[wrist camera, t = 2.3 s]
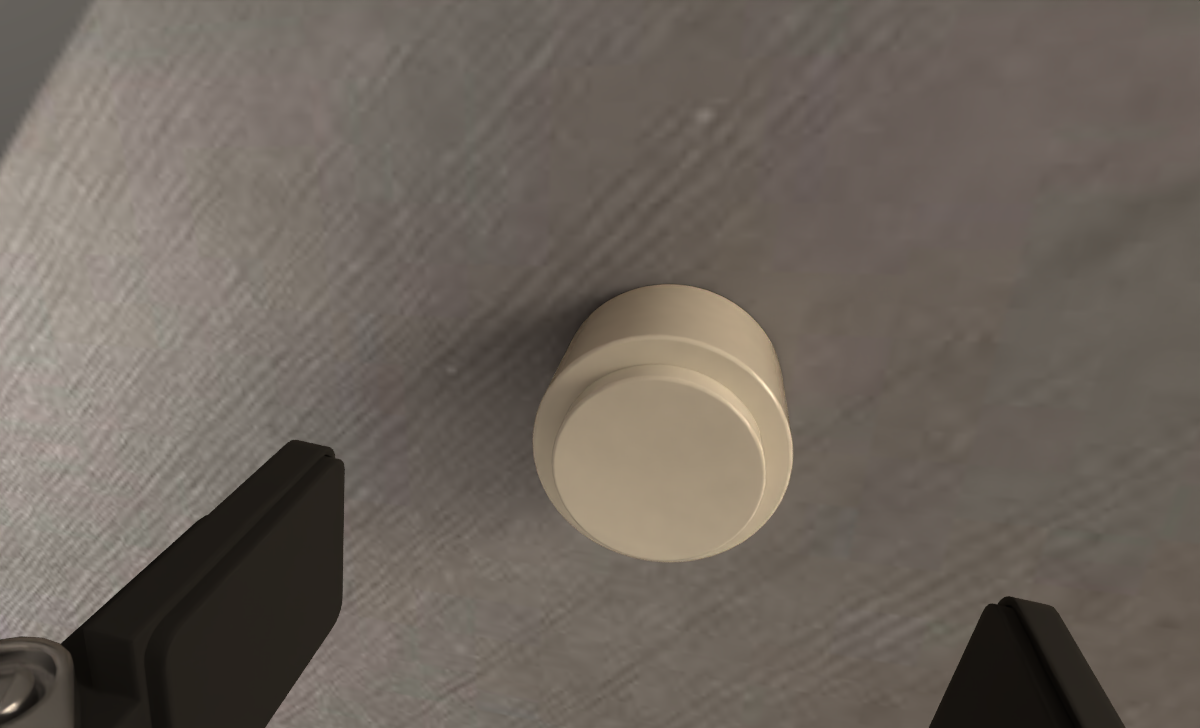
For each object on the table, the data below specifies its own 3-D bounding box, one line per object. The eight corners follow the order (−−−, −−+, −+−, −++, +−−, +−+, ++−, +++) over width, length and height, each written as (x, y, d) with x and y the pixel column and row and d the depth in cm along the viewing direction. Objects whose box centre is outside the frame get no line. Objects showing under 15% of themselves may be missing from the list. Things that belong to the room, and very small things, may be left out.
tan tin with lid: (578, 262, 16) (540, 323, 12) (808, 308, 15) (830, 382, 12) (550, 457, 18) (510, 552, 14) (753, 500, 17) (759, 608, 14)
